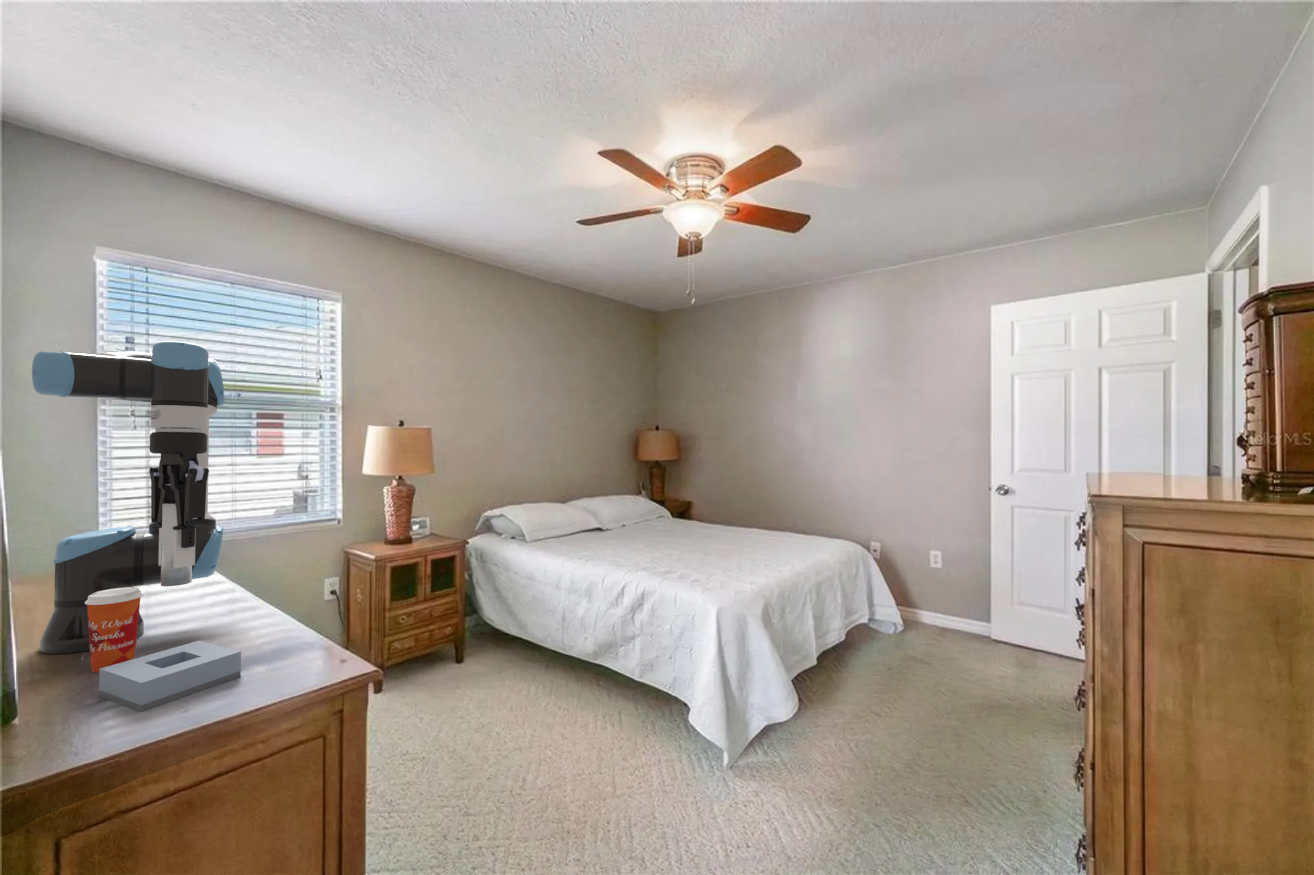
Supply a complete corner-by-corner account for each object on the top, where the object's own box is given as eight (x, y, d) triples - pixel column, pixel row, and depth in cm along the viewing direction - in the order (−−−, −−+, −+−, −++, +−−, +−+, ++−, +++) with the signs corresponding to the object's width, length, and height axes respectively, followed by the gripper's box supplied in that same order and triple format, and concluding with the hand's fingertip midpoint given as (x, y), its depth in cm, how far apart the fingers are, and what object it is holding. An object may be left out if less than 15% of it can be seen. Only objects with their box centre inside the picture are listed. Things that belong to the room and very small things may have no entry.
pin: (155, 584, 91) (157, 503, 92) (183, 579, 95) (185, 501, 95) (168, 587, 90) (170, 504, 90) (196, 581, 94) (198, 502, 94)
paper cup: (74, 678, 95) (76, 599, 95) (94, 662, 102) (96, 589, 102) (133, 670, 98) (134, 594, 99) (149, 655, 105) (150, 584, 105)
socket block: (98, 695, 88) (99, 668, 88) (199, 664, 101) (199, 640, 101) (140, 711, 83) (141, 682, 83) (240, 676, 96) (241, 651, 96)
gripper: (125, 431, 93) (122, 565, 92) (181, 429, 86) (178, 574, 86) (178, 432, 100) (175, 557, 99) (233, 431, 93) (230, 565, 93)
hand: (176, 564), depth 93 cm, fingers closed on pin, 4 cm apart
